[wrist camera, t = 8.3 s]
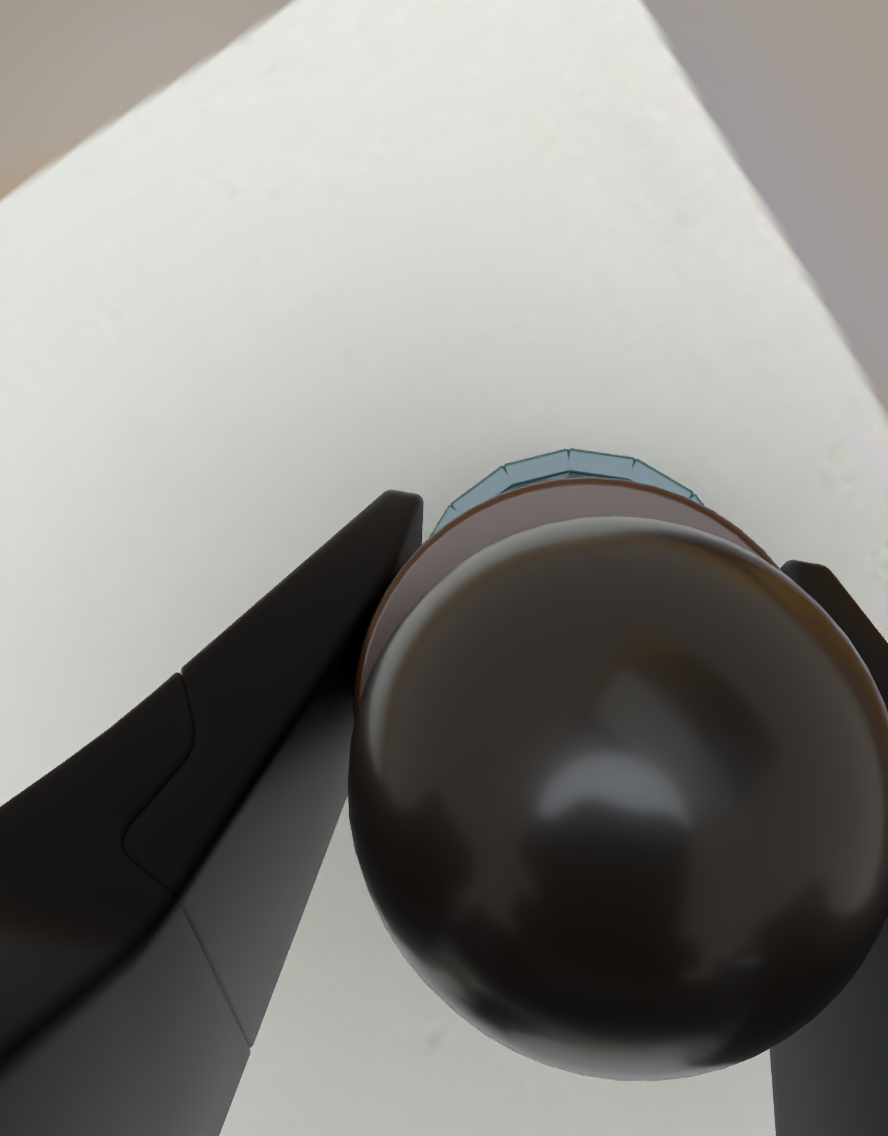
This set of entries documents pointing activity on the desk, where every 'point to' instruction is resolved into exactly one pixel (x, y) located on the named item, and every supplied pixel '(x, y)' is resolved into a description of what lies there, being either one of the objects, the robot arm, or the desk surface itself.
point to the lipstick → (618, 782)
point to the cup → (561, 476)
